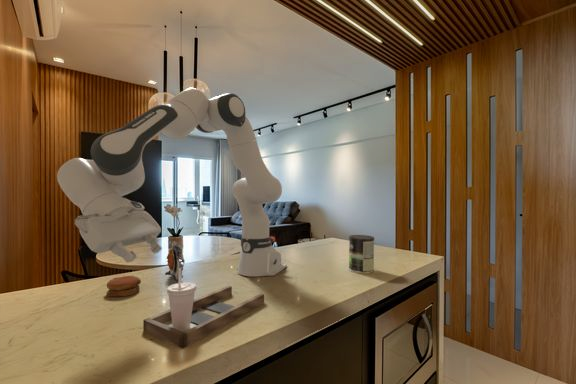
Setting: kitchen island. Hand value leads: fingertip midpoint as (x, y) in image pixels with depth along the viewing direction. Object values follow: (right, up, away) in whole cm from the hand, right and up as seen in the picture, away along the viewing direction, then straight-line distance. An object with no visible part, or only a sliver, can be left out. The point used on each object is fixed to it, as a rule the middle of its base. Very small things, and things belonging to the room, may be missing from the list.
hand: (146, 255), depth 65 cm
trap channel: (+14, -17, +6) cm, 23 cm away
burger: (-19, -17, +23) cm, 35 cm away
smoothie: (+9, -17, -1) cm, 19 cm away
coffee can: (+65, -18, +50) cm, 84 cm away
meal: (-10, -18, +38) cm, 43 cm away
